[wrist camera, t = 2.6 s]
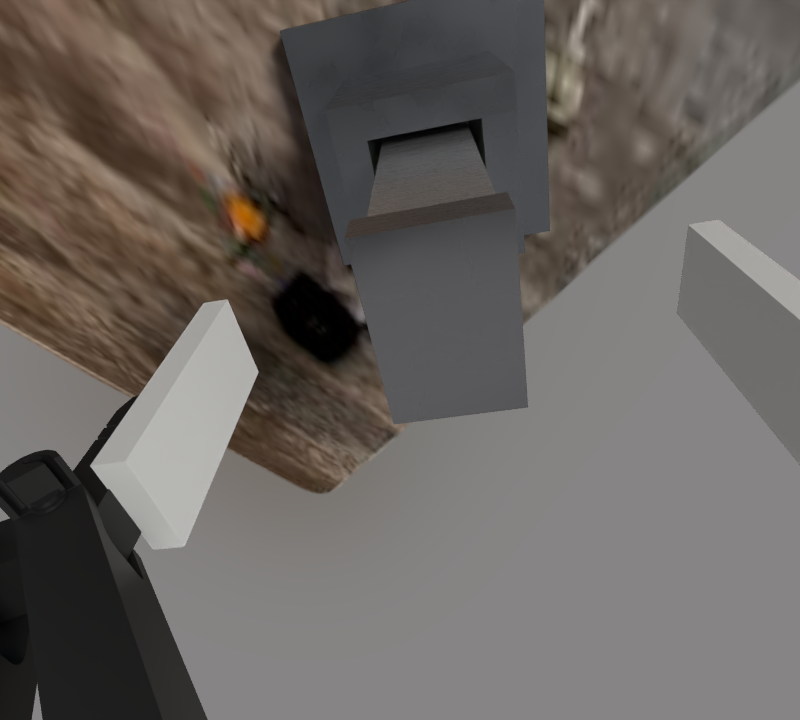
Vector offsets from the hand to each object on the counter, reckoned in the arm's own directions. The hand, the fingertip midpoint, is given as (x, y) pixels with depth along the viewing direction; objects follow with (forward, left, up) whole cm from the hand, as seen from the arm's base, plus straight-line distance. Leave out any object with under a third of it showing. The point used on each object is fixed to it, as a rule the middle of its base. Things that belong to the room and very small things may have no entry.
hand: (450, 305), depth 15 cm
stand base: (0, 0, -22) cm, 22 cm away
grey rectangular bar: (0, 0, -20) cm, 20 cm away
